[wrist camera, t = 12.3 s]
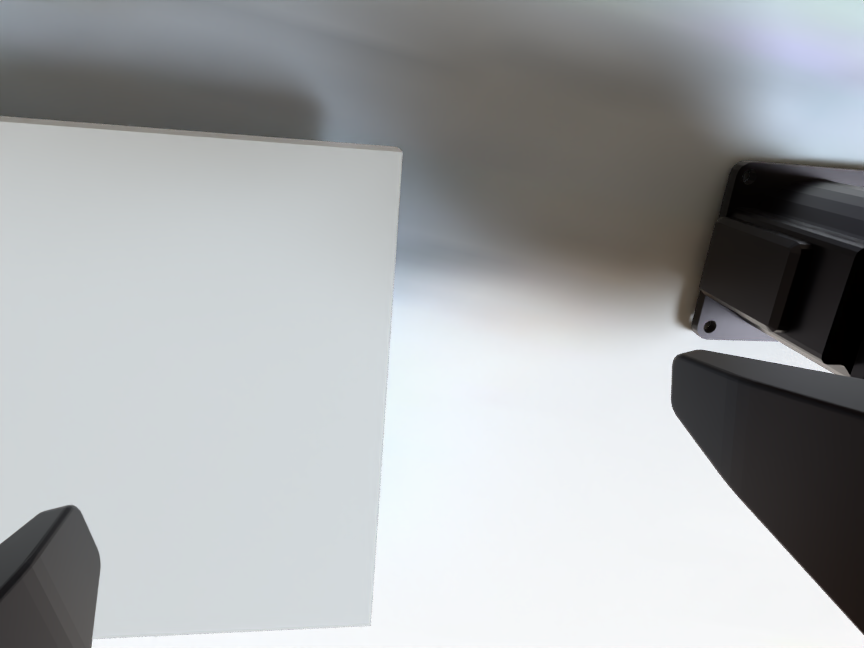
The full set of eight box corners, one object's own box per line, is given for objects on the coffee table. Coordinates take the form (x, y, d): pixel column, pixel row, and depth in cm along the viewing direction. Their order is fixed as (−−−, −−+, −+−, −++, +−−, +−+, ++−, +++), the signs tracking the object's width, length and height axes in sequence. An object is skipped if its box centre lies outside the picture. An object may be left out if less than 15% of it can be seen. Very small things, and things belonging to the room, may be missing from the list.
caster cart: (390, 139, 19) (402, 152, 16) (366, 546, 25) (370, 625, 21) (-455, 72, 16) (-695, 68, 12) (-263, 563, 22) (-389, 662, 18)
